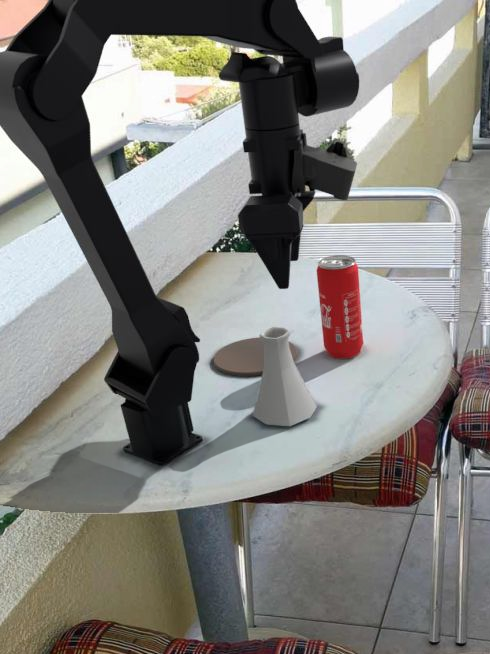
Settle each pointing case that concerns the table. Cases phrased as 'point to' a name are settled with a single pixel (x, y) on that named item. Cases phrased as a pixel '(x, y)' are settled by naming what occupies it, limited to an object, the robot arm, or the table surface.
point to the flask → (281, 384)
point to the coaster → (244, 357)
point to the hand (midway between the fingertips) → (289, 274)
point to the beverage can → (340, 306)
